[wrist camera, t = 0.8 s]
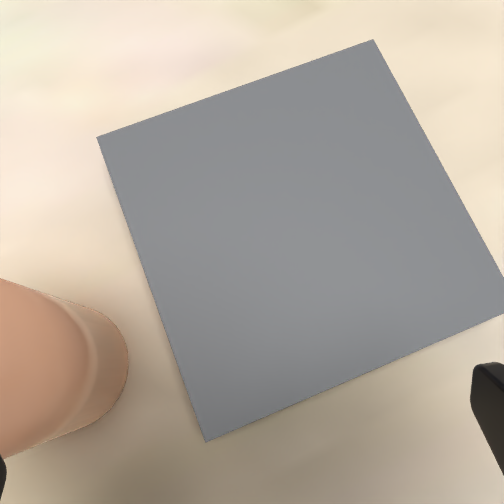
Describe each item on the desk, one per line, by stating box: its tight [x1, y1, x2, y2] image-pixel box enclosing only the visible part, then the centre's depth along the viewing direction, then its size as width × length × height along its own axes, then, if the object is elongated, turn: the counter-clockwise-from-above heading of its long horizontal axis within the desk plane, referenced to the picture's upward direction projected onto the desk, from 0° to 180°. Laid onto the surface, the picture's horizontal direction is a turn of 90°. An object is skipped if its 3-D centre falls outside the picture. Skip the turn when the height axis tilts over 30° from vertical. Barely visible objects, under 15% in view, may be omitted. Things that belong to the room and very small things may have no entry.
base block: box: [96, 39, 504, 443], centre depth 22 cm, size 15×15×3 cm
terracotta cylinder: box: [0, 278, 128, 459], centre depth 17 cm, size 6×6×11 cm
